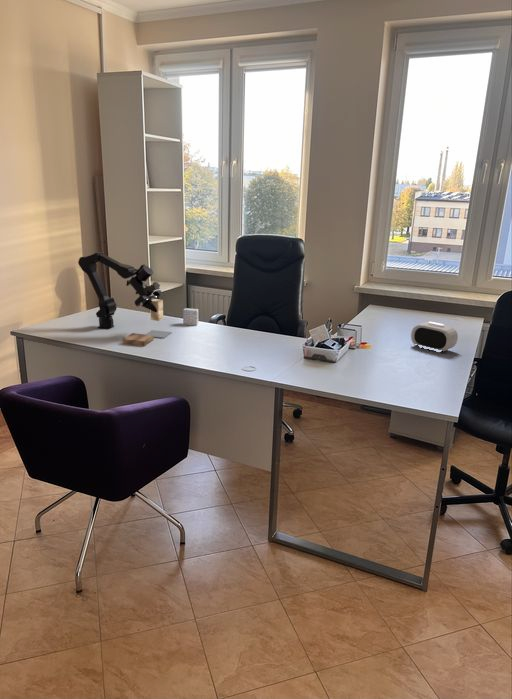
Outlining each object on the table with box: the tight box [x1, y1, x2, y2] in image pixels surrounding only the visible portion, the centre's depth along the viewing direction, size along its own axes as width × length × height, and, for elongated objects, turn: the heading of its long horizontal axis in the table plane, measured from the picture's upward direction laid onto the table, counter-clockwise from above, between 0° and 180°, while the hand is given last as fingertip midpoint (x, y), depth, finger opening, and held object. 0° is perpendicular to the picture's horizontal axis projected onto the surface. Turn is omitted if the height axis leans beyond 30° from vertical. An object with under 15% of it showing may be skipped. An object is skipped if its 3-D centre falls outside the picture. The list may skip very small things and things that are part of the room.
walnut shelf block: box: [122, 332, 154, 347], centre depth 246 cm, size 11×11×2 cm
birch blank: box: [150, 298, 164, 322], centre depth 255 cm, size 4×4×10 cm
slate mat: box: [145, 329, 173, 340], centre depth 260 cm, size 11×11×1 cm
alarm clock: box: [410, 321, 458, 352], centre depth 256 cm, size 21×10×13 cm, turn 47°
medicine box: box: [182, 307, 199, 327], centre depth 282 cm, size 8×4×9 cm, turn 84°
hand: (159, 311), depth 255 cm, fingers closed on birch blank, 4 cm apart
